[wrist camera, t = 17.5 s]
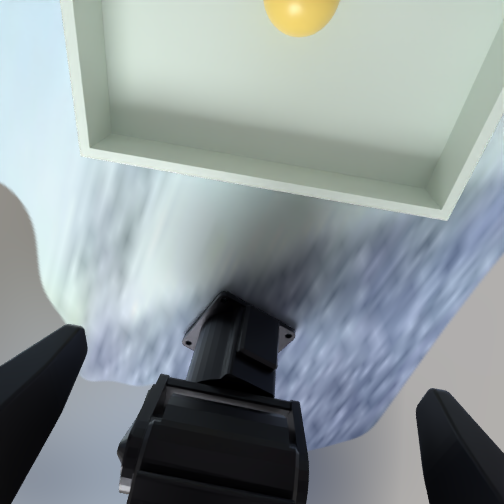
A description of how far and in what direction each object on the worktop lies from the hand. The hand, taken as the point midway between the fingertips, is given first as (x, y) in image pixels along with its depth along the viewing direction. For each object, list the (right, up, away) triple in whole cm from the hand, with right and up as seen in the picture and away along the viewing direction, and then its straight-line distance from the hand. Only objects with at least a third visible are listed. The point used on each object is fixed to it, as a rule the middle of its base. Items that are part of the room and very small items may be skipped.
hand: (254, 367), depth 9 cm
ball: (+2, +13, +4) cm, 14 cm away
